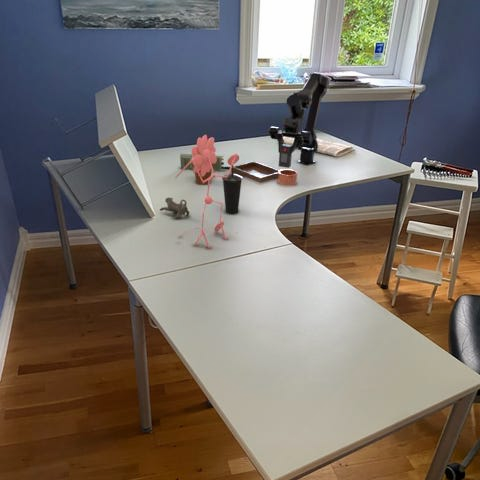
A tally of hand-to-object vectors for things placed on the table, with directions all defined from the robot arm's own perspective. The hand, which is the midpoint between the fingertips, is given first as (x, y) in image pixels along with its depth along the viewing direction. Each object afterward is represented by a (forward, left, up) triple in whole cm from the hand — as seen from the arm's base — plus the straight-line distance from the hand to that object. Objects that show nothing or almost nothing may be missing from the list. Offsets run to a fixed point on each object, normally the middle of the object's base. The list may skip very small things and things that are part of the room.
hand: (284, 153), depth 211 cm
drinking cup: (+39, +10, -14) cm, 42 cm away
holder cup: (-2, +1, -13) cm, 14 cm away
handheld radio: (+15, -35, -14) cm, 41 cm away
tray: (+1, -15, -13) cm, 21 cm away
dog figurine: (+58, -1, -14) cm, 59 cm away
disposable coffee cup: (+27, -23, -14) cm, 38 cm away
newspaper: (-56, -29, -14) cm, 65 cm away
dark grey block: (-1, -1, -6) cm, 6 cm away
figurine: (+62, +21, -14) cm, 66 cm away
